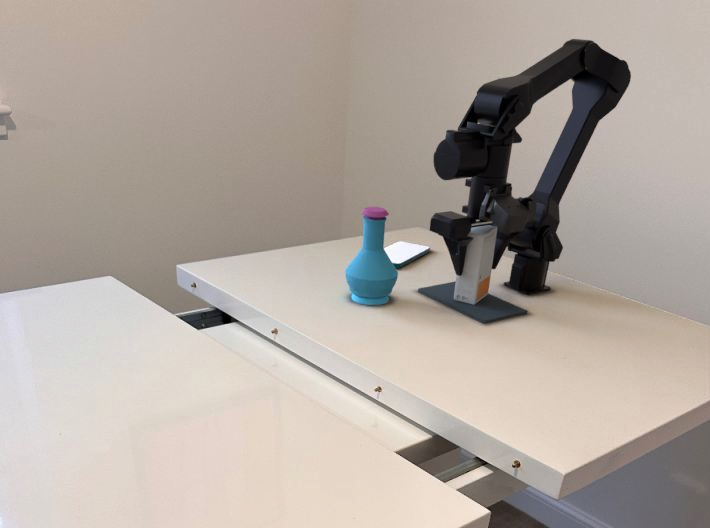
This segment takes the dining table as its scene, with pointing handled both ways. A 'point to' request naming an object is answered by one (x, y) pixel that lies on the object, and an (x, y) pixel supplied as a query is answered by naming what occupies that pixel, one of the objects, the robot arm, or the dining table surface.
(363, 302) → the perfume bottle
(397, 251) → the smartphone
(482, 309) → the side mat
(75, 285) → the dining table surface
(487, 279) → the cosmetic box
